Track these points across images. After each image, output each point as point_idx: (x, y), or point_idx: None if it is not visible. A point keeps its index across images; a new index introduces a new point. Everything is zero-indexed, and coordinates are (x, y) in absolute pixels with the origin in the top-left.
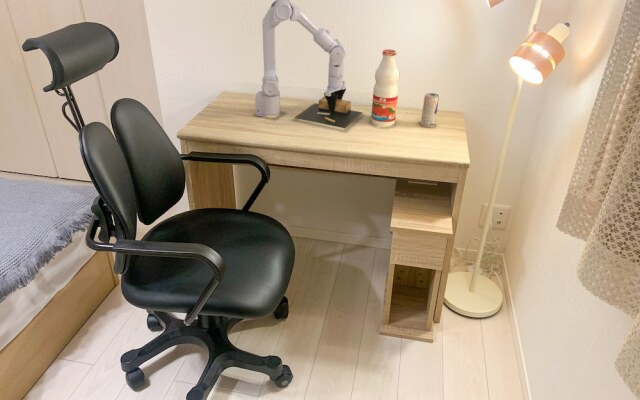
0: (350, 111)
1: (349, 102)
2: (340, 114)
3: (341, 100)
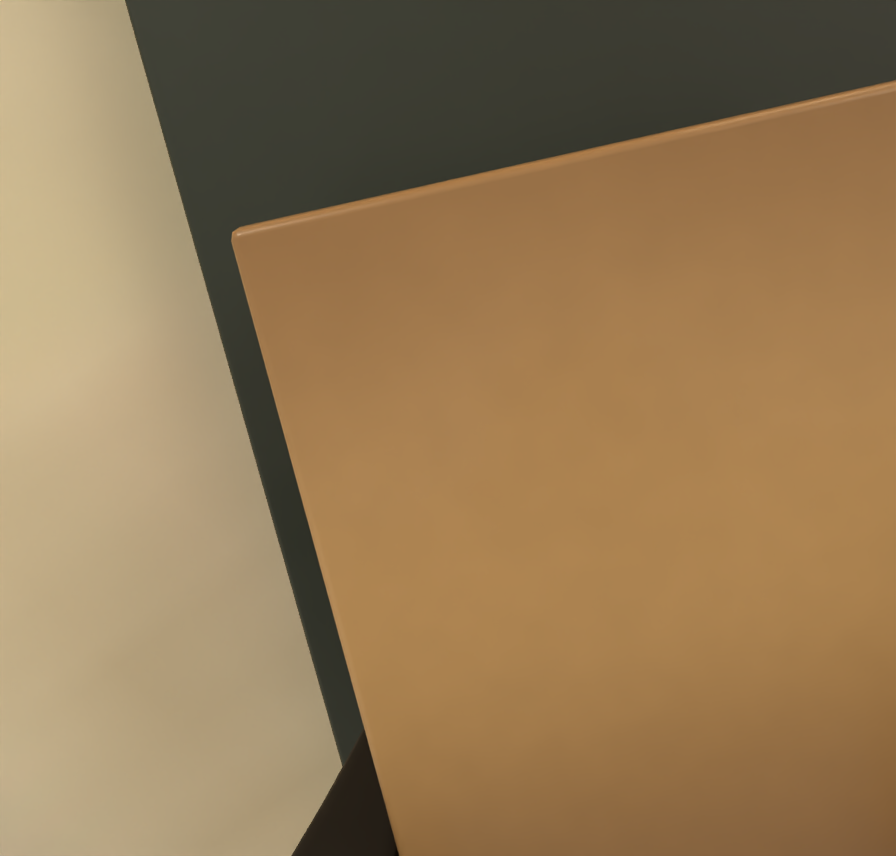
0: None
1: (485, 186)
2: None
3: (517, 776)
